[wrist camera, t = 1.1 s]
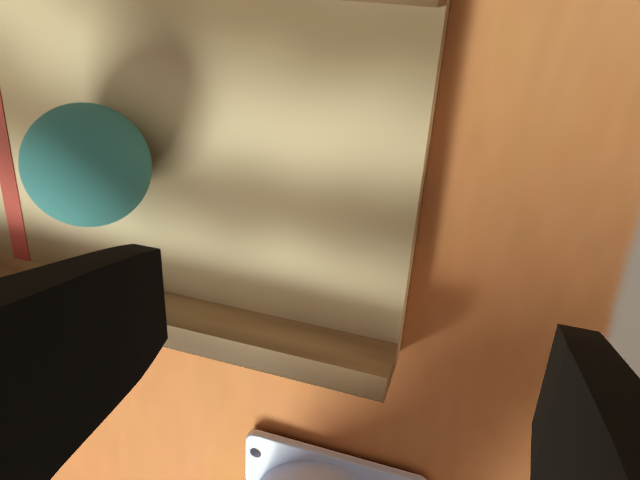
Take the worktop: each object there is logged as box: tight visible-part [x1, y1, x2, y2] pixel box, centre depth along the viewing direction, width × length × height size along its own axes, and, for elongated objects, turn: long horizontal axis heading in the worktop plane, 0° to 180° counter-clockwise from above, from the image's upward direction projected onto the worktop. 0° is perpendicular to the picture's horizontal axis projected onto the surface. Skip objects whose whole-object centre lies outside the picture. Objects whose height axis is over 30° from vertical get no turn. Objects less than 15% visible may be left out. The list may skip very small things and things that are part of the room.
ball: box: [18, 102, 152, 227], centre depth 18 cm, size 4×4×4 cm
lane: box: [0, 0, 451, 403], centre depth 21 cm, size 13×28×3 cm, turn 87°
